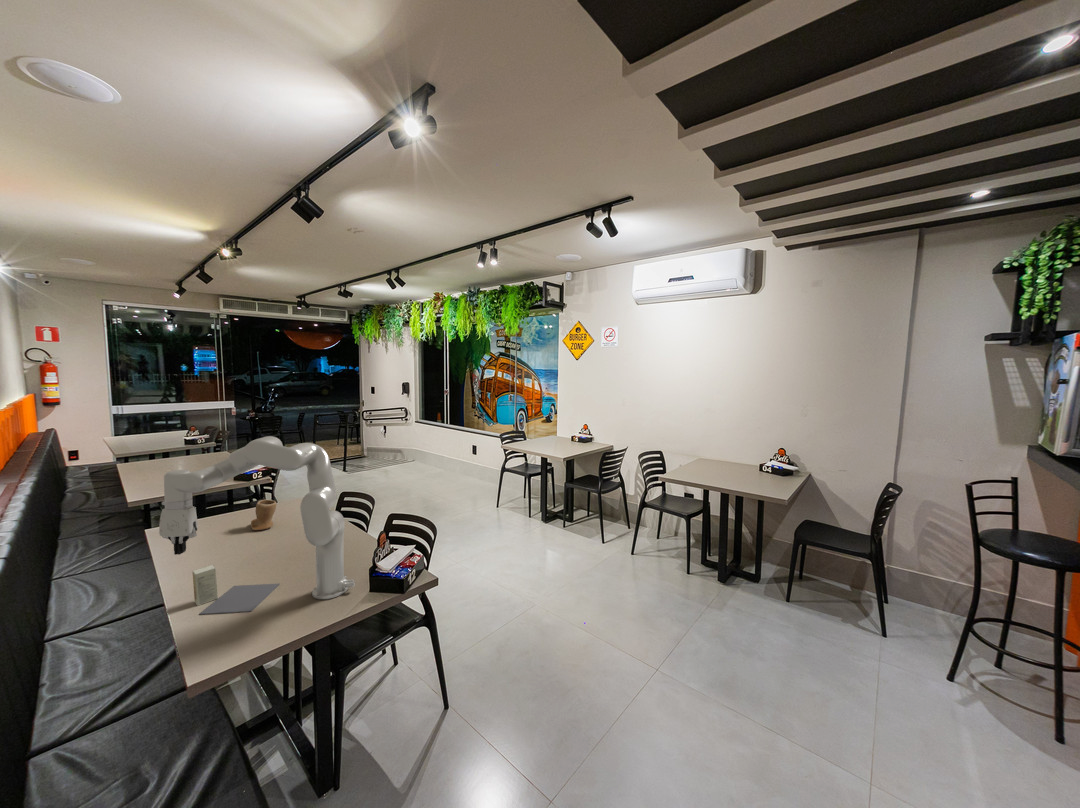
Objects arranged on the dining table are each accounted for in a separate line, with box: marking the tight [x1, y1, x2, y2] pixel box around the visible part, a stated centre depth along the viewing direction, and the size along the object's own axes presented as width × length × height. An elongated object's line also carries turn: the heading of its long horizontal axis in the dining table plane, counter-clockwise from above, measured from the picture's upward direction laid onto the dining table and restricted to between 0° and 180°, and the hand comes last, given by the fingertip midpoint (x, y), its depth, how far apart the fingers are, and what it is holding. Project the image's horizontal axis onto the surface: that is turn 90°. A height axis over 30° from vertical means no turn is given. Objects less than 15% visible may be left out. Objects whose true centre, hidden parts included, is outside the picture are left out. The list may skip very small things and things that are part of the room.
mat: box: [198, 583, 280, 616], centre depth 149 cm, size 17×19×1 cm
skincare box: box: [191, 564, 219, 607], centre depth 148 cm, size 6×4×12 cm
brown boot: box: [250, 499, 277, 531], centre depth 221 cm, size 15×12×15 cm
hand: (180, 552), depth 146 cm, fingers closed
